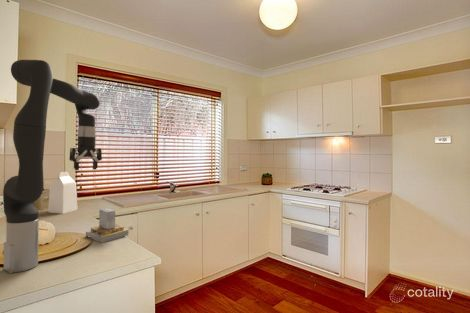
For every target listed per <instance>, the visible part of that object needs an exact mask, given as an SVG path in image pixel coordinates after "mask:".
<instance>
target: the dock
mask: <svg viewBox="0 0 470 313" xmlns="http://www.w3.org/2000/svg"><path fill="white" fill-rule="evenodd" d="M129 231H130V230H129V229H126V228H124V230H122V231H119V232H115V233H111V234H107V235H104V236H102V235H101V233H99V234H97V233H96V231H95V232H91V229H90V230H86V231H85V237H86V236H90V237H91V238H92V239H91V238H90V239H91V240H94V241H97V242H100V243H105V242H110V241H113V240H116V239H120V238H123V237H126V236H129Z"/></svg>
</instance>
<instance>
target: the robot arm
mask: <svg viewBox="0 0 470 313" xmlns="http://www.w3.org/2000/svg"><path fill="white" fill-rule="evenodd" d="M10 74H11V76H12V78H13V79H14V80H15V81H16V82H17V83H19V84H21V85H22V86H26V87H30V91H29V96H28V98H27V100H26V102H25V104H23V106H22V107H21V109H20V110H19V111H18V113H17V114H16V117H15V118H14V122H13V131H12V133H13V134H12V139H13V144H14V148H15V152H16V154H17V158H18V173H17V175H14V176H11V177H10V178H9V179H8V180H6V181H5V183H4V186H3V191H2V192H3V194H2V195H3V196H2V198H3V201H2V202H3V212H4V215H5V218H6V219H5V223H6V227H5V228H6V230H5V233H6V234H5V235H6V236H5V242H3V269H4V270H5V271H6V272H7V273H9V274H13V273H17V272H18V273H19V272H20V273H21V272H24V271H27V270H31V269H33V268H36V267H37V266H38V265H39V236H40V235H39V232H40V231H39V230H40V228H39V225H40V220H39V219H40V218H39V217H40V214H39V212H40V211H39V210H38V208H36V205H35V204H34V203H35V202H36V201H38V200H39V198H40V197H41V196H42V194H43V191H44V188H45V186H44V185H45V184H44V183H45V182H44V154H45V153H44V152H45V140H46V132H47V117H48V115H47V114H48V108H49V107H48V106H49V101H50V95H55V96H56V97H59V98H61V99H64V100H66V101H67V102H69V103H73V104H74V106H75V110H76V113H77V118H78V124H77V126H78V128H77V148H75V147H70V148H69V158H68V160H69V161H70V162H73V169H74V171H79V170H80V162H79V161H81V159H83V158H90V159H92V170H97V169H98V162H100V161H102V160H103V158H102V157H103V156H102V149H101V148H98V147H97V148H96V117H95V115H94V114H91V113H88V111H87V110H96V109H98V108H99V107H100V103H101V102H100V99H99V97H98V96H97V95H95V94H94V93H91V92H88V91H86V90H82V89H81V88H78V87H77V86H75V85H73V84H71V83H69V82H67V81H63V80H60V79H56V78H54V72H53V69H52V67H51V65H50V64H49V63H48V62H47V61H46V60H43V59H18V60H16V61H14V62H13V63H12V64H11V66H10ZM76 153H77V154H76ZM95 153H96V154H95Z"/></svg>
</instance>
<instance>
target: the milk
mask: <svg viewBox="0 0 470 313" xmlns="http://www.w3.org/2000/svg"><path fill="white" fill-rule="evenodd" d="M48 195H49V196H48V208H47V210H48V211H47V212H48V213H53V214H60V215H61V214H62V215H63V214H66V213H70V212H74V211H78V193H77V183H76V181H75V180H74V179H73V178H72V177H71V176H70V174H69V171H62V172H59V173H58V175H57V177H55V178H54V180H52V181H51V182H50V185H49V194H48Z"/></svg>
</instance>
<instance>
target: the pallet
mask: <svg viewBox="0 0 470 313" xmlns="http://www.w3.org/2000/svg"><path fill="white" fill-rule="evenodd" d="M124 229H125V226H122V225H119V224H116V223H115V228H112V229H104V228H102V227H100V226H99V225H97V226H93V227H90V230H91V232H95V231H96V233H97V234H99V233H101V235H102V236H104V235H107V234H111V233H115V232H119V231H122V230H124Z"/></svg>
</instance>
